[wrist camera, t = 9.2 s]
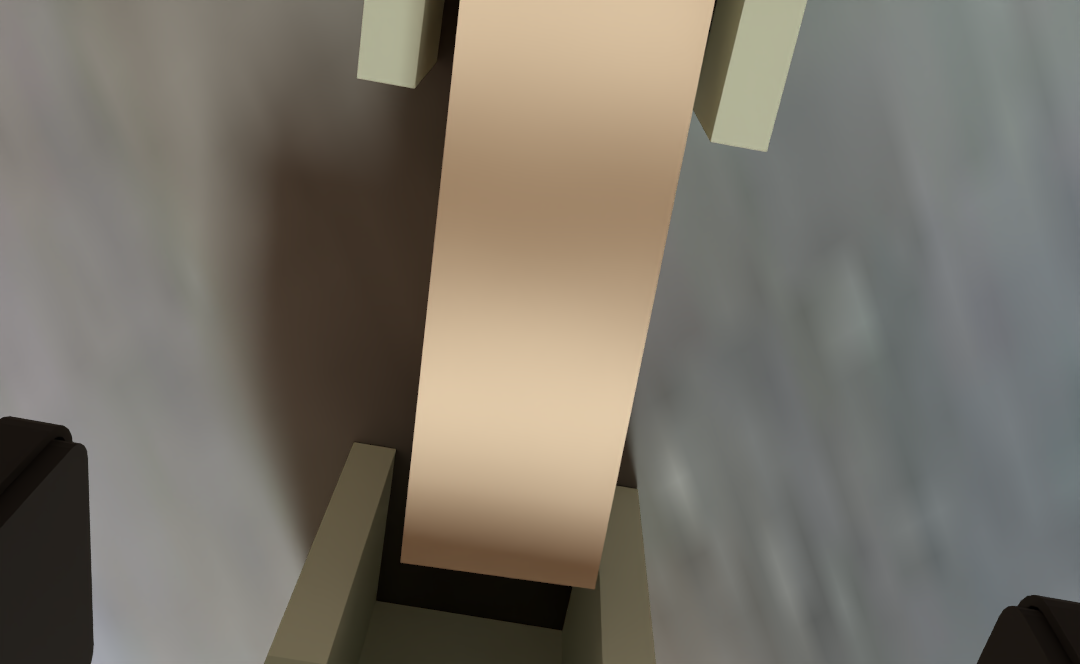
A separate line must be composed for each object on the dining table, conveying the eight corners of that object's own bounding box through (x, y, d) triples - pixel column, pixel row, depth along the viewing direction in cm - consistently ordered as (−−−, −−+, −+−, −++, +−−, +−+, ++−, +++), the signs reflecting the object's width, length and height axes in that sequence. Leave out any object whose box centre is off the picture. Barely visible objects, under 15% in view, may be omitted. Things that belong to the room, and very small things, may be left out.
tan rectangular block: (522, -289, 18) (498, -372, 12) (718, -258, 18) (781, -326, 12) (441, 405, 23) (400, 562, 18) (590, 426, 23) (594, 589, 18)
